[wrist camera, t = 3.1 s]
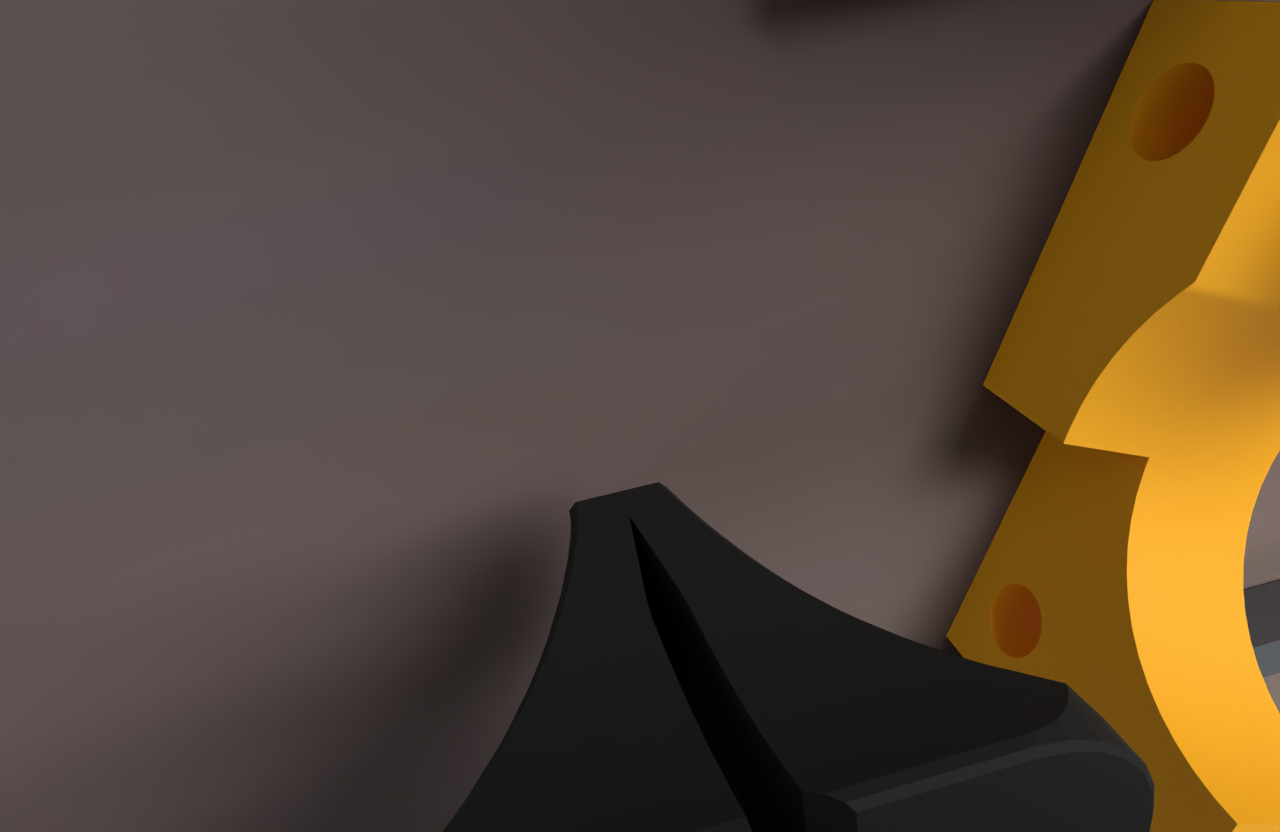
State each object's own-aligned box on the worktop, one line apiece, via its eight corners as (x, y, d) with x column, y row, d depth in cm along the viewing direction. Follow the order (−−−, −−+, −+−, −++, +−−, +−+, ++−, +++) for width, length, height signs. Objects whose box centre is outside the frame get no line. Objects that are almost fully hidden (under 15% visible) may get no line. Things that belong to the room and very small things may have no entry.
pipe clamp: (1146, -1, 13) (1677, 10, 8) (1345, 71, 15) (1924, 127, 9) (870, 625, 18) (1074, 921, 12) (1041, 638, 19) (1297, 912, 14)
